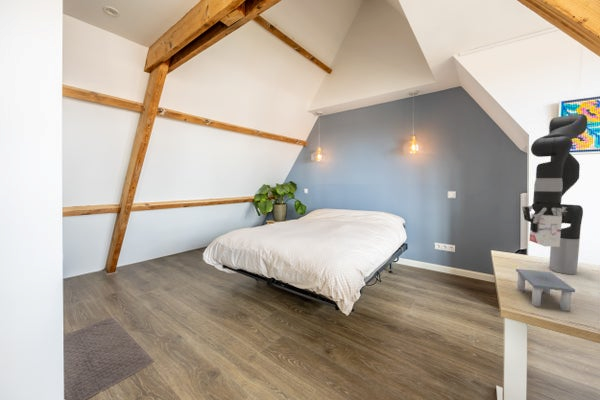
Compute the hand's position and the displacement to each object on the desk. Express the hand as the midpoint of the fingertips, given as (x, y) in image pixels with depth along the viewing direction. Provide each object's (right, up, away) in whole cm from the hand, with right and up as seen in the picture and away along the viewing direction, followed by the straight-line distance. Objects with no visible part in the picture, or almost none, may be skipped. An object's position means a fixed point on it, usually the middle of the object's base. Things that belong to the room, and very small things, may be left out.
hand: (544, 232), depth 93 cm
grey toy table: (0, -26, +1) cm, 26 cm away
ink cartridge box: (0, -5, 0) cm, 5 cm away
